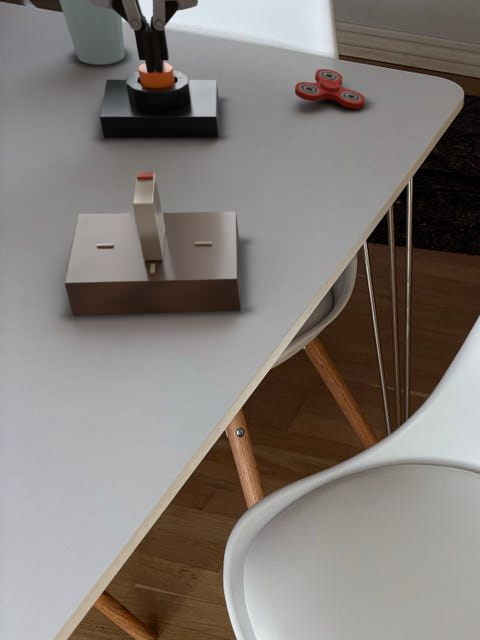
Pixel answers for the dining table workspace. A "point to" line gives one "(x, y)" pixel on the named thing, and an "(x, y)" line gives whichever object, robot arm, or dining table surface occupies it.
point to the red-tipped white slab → (149, 216)
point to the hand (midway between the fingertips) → (155, 66)
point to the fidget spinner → (329, 90)
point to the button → (156, 76)
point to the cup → (94, 31)
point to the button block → (160, 109)
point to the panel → (154, 265)
